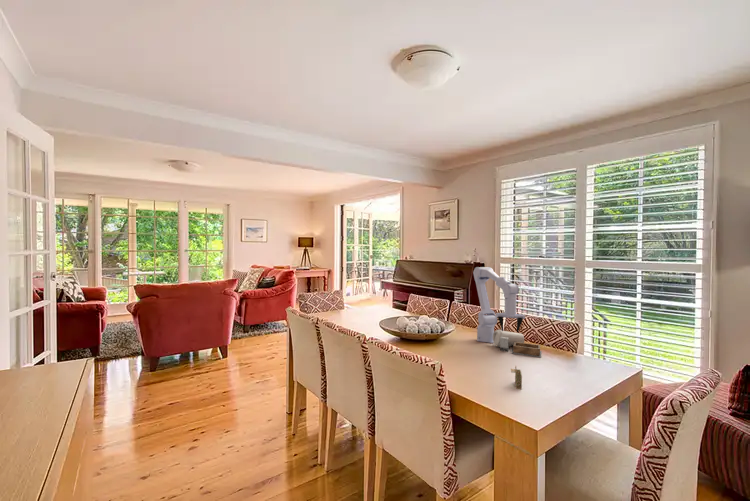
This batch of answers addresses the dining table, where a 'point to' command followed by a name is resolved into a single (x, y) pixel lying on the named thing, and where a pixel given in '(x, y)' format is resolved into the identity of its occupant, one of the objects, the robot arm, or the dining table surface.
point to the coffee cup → (511, 335)
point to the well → (526, 348)
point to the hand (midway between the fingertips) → (509, 331)
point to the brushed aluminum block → (504, 344)
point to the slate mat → (527, 354)
